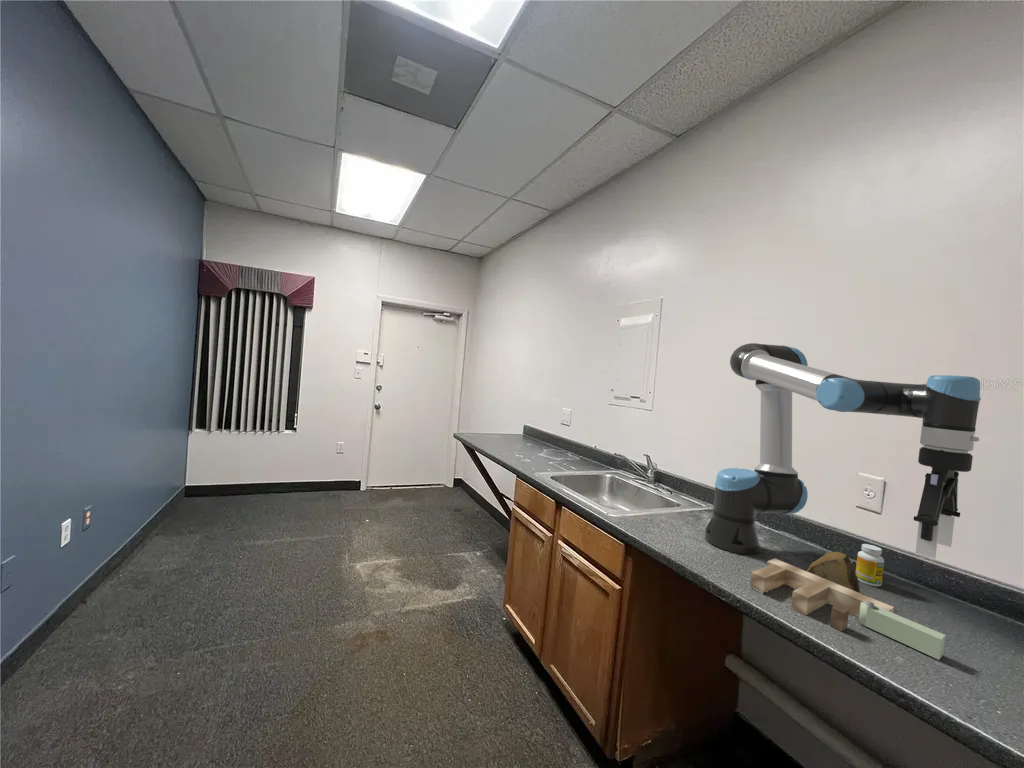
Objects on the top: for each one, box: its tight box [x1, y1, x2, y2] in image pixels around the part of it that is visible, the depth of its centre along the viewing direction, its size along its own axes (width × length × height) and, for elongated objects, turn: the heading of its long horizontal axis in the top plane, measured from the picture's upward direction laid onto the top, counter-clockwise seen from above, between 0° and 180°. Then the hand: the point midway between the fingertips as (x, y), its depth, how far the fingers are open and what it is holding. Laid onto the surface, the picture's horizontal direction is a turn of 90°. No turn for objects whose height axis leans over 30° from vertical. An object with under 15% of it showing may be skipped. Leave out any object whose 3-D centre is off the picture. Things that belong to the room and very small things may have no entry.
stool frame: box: [749, 557, 895, 632], centre depth 93 cm, size 24×15×4 cm, turn 32°
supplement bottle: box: [855, 543, 885, 587], centre depth 106 cm, size 5×5×10 cm
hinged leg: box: [858, 601, 946, 661], centre depth 81 cm, size 12×3×5 cm, turn 32°
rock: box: [806, 551, 862, 594], centre depth 103 cm, size 11×9×10 cm
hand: (933, 549), depth 83 cm, fingers open, 12 cm apart
